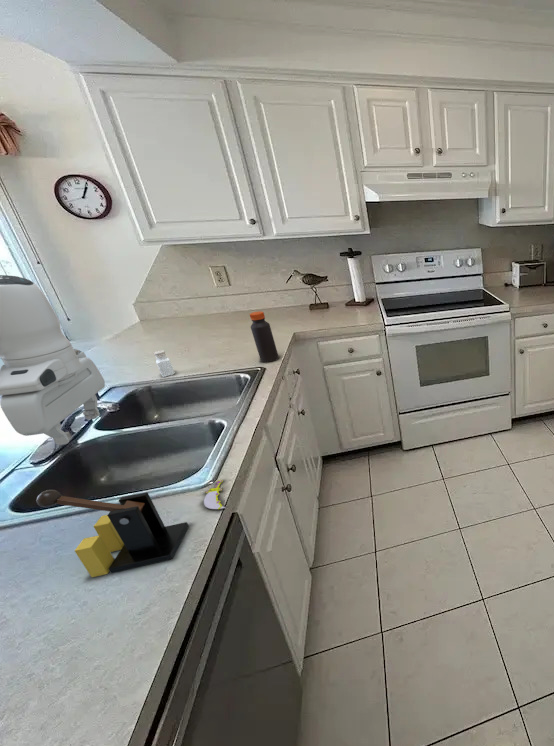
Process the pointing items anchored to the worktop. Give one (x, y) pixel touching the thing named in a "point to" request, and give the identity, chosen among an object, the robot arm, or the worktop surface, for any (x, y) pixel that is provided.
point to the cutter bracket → (143, 534)
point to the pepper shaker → (164, 363)
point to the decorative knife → (213, 497)
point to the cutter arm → (81, 502)
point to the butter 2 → (95, 556)
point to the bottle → (263, 337)
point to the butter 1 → (108, 534)
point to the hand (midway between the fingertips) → (80, 429)
